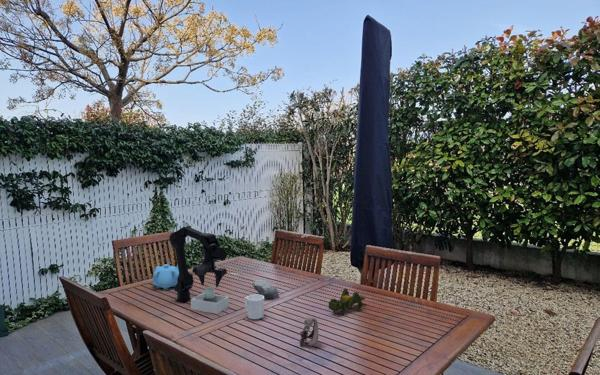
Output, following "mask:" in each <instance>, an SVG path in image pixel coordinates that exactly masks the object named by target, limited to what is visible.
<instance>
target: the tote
mask: <svg viewBox="0 0 600 375" xmlns="http://www.w3.org/2000/svg"><path fill="white" fill-rule="evenodd" d="M215 296H216V303H215V302H209V301H203V298H204V297H205V292H201V293H200V294H198V295H196V296H194V297H191V300H190V310H194V311H199V312H205V313H210V314H216V315H218V314H219V313H221V312H223V311H224V310H226V309H228V308H229V307H230V296H226V295H221V294H215Z"/></svg>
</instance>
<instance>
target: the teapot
mask: <svg viewBox="0 0 600 375" xmlns="http://www.w3.org/2000/svg"><path fill="white" fill-rule="evenodd" d="M178 275H179V270H178V264H177V265H176V266H174V265H169V264H167V263H166V264H163V266H158V265H155V266H154V271H153V275H152V283H153V285H154V286H155V288H156V289H160V288H163V289H162V290H163V291H167V290H169V288H170V287H172V288H174V287H175V286H176V284H177V278H178Z"/></svg>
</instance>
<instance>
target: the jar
mask: <svg viewBox="0 0 600 375" xmlns="http://www.w3.org/2000/svg"><path fill="white" fill-rule="evenodd" d="M204 293H205V298H206V299H211V298H214V297H215V295H216V294H215V293H216V292H215V286H207V287H205V288H204Z"/></svg>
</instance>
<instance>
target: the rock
mask: <svg viewBox="0 0 600 375" xmlns="http://www.w3.org/2000/svg"><path fill="white" fill-rule="evenodd" d="M252 287H253V288H254V290H255V291H257V293H258V295H263V296H264V299H270V300H272V299H274V298H277V297H278V296H279V291H278V288H277V286H275V285H273V284H271V283H270V282H269V281H268V280H266V279H256V280H255V281H253V282H252Z"/></svg>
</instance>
